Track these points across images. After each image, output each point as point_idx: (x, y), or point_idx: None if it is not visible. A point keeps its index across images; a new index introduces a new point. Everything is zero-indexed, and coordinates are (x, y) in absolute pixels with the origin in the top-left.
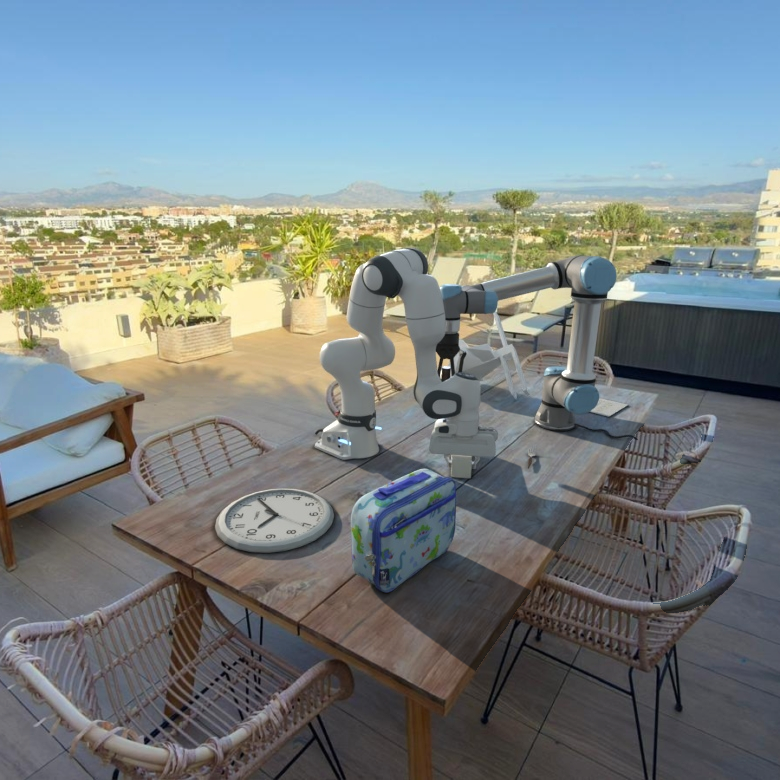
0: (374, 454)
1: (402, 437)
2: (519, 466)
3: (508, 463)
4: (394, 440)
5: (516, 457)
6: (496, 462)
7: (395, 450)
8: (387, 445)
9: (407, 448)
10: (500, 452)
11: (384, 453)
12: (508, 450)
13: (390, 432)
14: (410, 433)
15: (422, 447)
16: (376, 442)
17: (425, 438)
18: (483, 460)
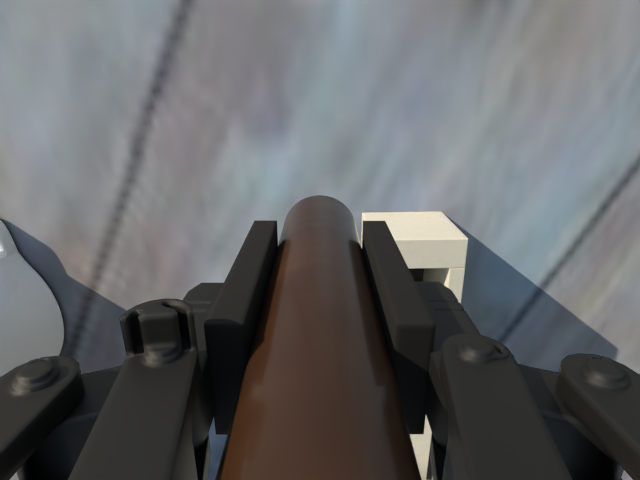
0: (58, 354)
1: (114, 144)
2: (611, 353)
3: (577, 336)
4: (87, 189)
5: (629, 280)
6: (532, 335)
7: (126, 293)
8: (76, 250)
9: (170, 266)
10: (576, 243)
11: (91, 326)
12: (620, 216)
13: (31, 83)
14: (140, 78)
15: (232, 246)
16: (27, 342)
17: (231, 137)
18: (484, 326)
